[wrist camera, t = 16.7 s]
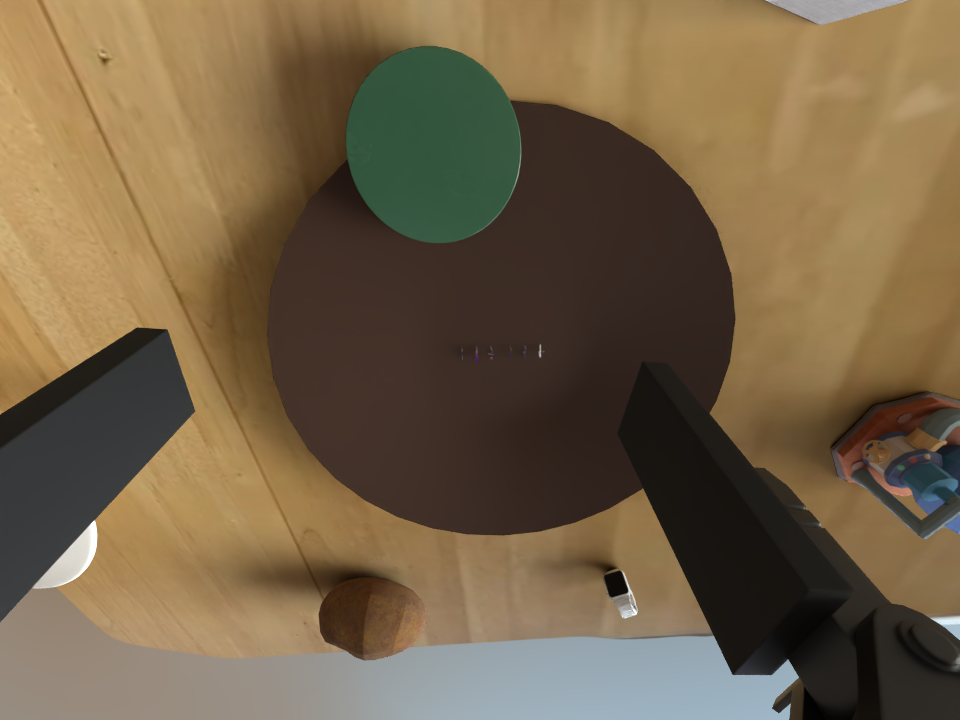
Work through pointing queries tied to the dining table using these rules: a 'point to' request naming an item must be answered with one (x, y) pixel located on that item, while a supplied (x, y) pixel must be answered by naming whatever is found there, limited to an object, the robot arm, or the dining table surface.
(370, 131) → the jar lid
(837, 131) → the dining table surface
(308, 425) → the plate
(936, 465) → the model
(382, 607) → the potato
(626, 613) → the smartwatch
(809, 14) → the tea bag
